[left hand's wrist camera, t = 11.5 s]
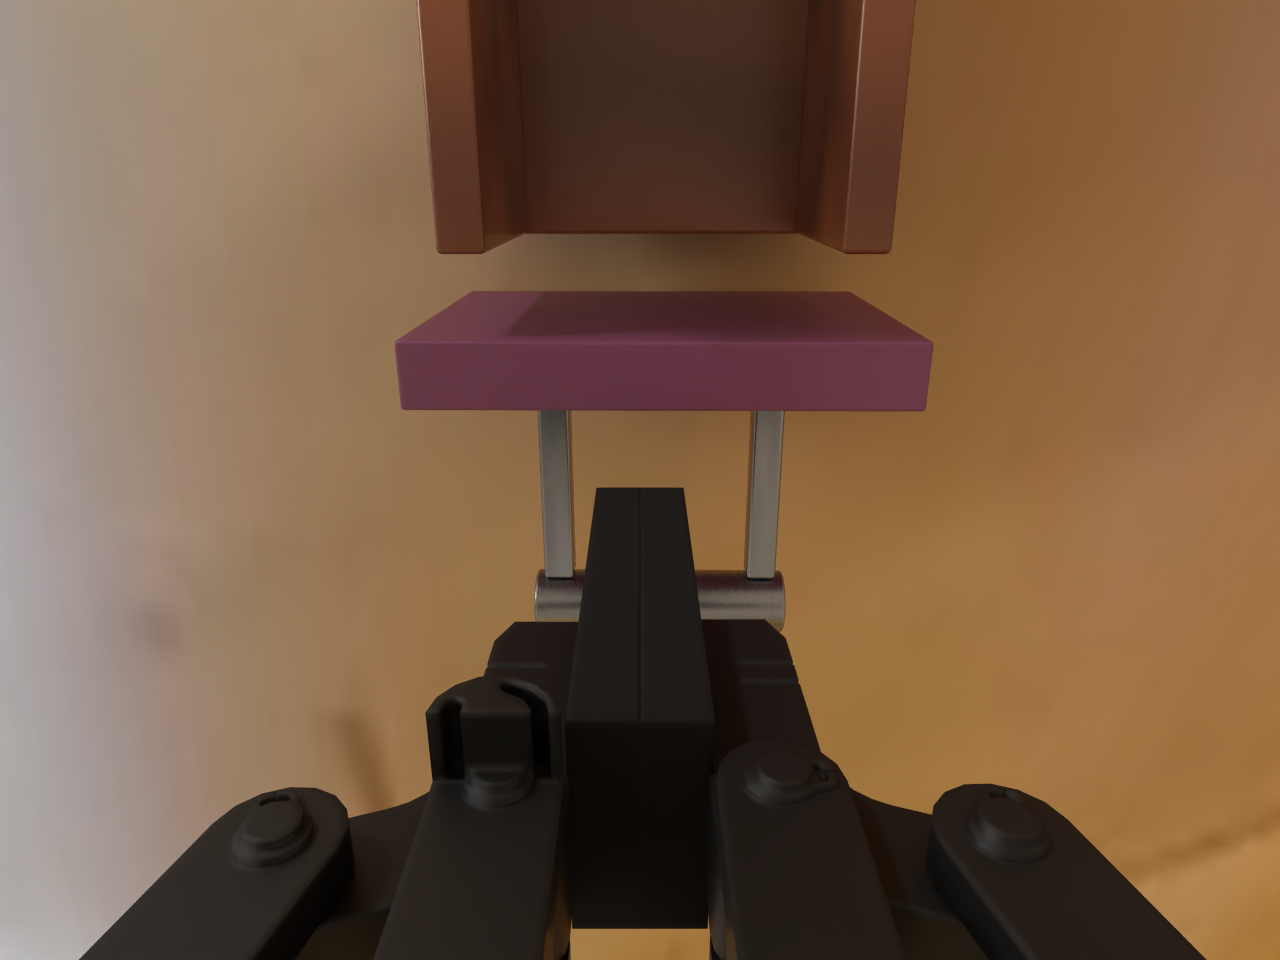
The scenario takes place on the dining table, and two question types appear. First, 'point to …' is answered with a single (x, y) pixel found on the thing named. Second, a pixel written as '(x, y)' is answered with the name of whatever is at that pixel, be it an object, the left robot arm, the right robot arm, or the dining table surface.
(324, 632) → the dining table surface
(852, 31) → the drawer
